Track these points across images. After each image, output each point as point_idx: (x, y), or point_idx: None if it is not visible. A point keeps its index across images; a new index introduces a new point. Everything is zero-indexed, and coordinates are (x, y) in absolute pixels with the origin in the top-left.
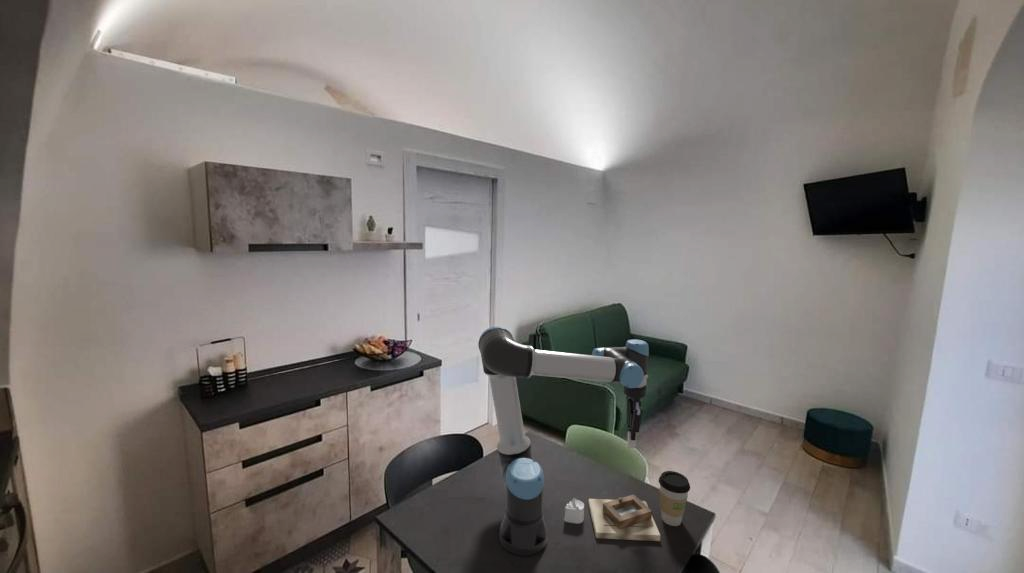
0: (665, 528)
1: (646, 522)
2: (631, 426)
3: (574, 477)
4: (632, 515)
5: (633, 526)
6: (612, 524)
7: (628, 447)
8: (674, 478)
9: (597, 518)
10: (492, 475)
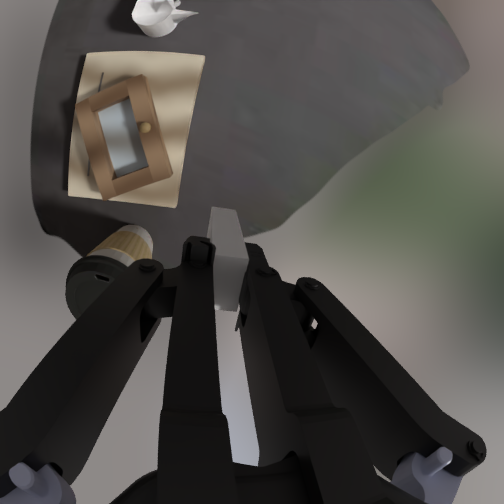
0: (106, 219)
1: None
2: (176, 290)
3: (321, 66)
4: (89, 143)
5: None
6: None
7: (212, 209)
8: None
9: (126, 61)
10: None
